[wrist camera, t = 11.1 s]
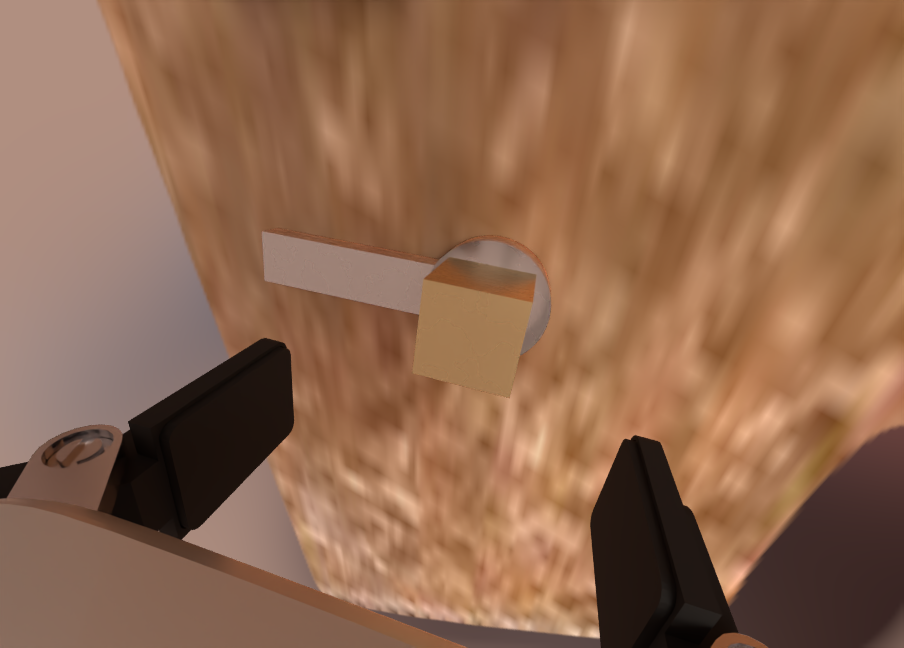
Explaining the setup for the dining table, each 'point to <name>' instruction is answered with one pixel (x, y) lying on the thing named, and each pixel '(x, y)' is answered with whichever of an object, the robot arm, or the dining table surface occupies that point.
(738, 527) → the dining table surface
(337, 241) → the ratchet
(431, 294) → the tan wooden cube
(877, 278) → the dining table surface
